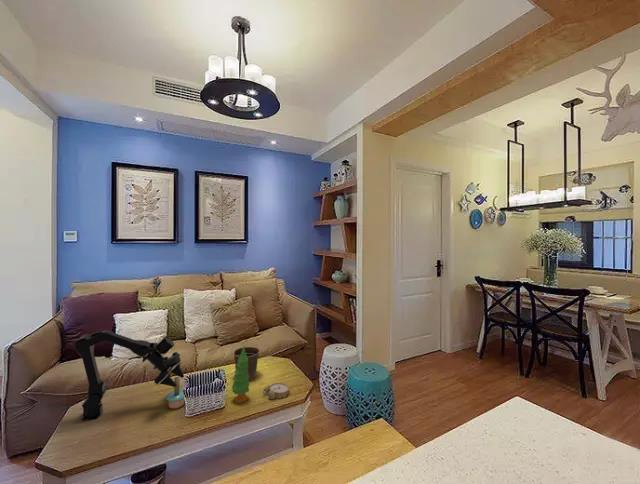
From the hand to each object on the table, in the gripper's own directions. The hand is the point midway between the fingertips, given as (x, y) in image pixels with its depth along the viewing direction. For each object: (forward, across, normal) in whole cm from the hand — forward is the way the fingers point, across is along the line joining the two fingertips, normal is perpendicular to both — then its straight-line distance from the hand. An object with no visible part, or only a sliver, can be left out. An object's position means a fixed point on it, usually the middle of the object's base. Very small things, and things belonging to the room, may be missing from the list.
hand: (179, 381), depth 149 cm
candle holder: (+44, +8, -26) cm, 52 cm away
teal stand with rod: (+4, 0, +6) cm, 8 cm away
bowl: (+8, 0, +10) cm, 12 cm away
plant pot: (+29, +29, -12) cm, 43 cm away
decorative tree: (+30, +4, -13) cm, 33 cm away
